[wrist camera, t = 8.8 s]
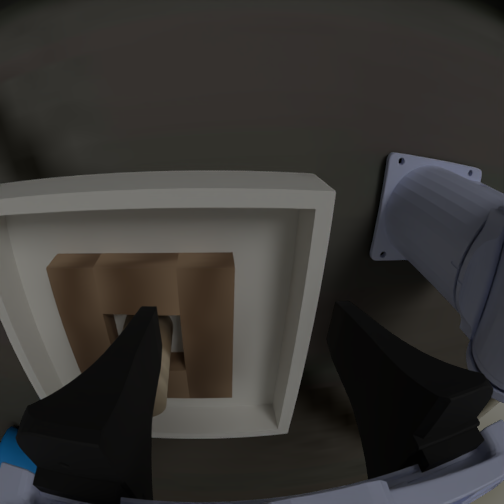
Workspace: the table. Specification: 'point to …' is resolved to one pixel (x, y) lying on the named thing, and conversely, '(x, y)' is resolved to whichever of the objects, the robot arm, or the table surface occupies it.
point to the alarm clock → (14, 451)
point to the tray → (178, 241)
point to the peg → (166, 337)
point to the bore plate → (153, 294)
